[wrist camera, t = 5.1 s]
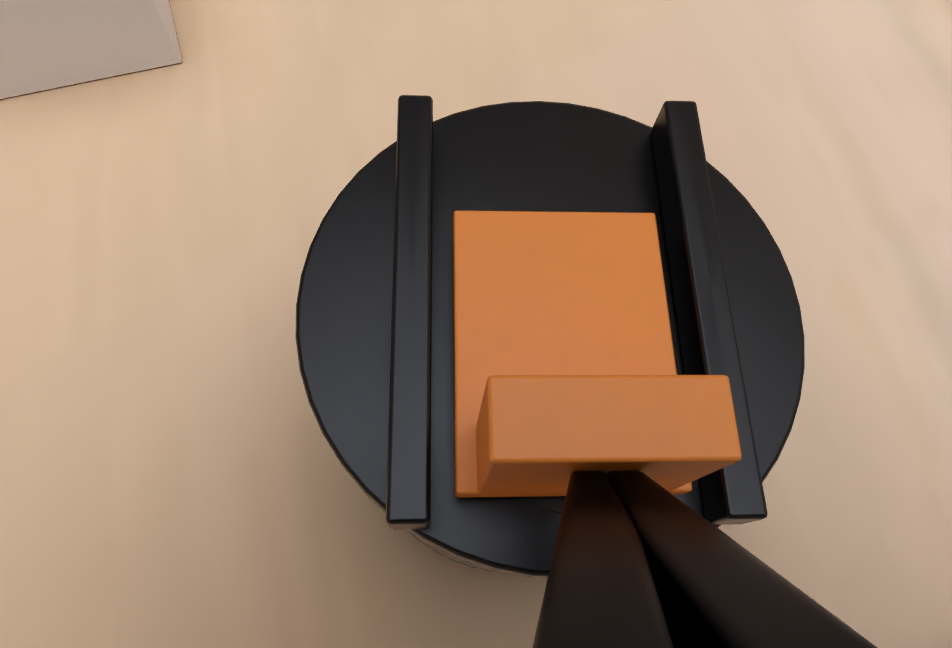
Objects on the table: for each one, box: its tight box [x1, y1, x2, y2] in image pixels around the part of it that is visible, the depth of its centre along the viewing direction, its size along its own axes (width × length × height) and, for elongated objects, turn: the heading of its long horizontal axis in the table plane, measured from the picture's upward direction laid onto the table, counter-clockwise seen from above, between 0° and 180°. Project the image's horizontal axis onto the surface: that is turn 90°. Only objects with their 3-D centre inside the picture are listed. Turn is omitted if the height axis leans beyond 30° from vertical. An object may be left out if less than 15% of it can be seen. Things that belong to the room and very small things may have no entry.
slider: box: [453, 211, 742, 498], centre depth 9 cm, size 5×3×3 cm
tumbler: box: [296, 95, 804, 578], centre depth 15 cm, size 9×9×9 cm
